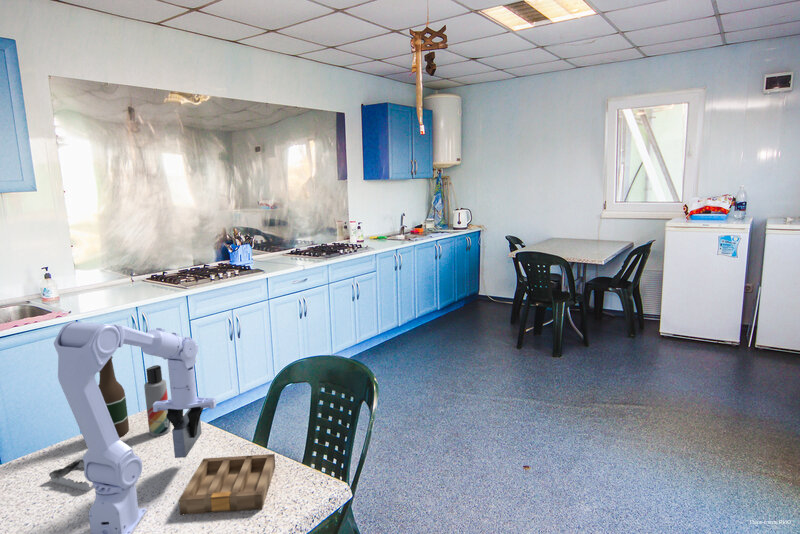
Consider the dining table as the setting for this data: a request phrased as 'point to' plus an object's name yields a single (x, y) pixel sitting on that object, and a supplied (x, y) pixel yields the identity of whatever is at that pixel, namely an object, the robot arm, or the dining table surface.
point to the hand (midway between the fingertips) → (187, 436)
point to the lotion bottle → (153, 393)
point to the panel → (184, 437)
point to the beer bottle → (114, 398)
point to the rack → (228, 484)
